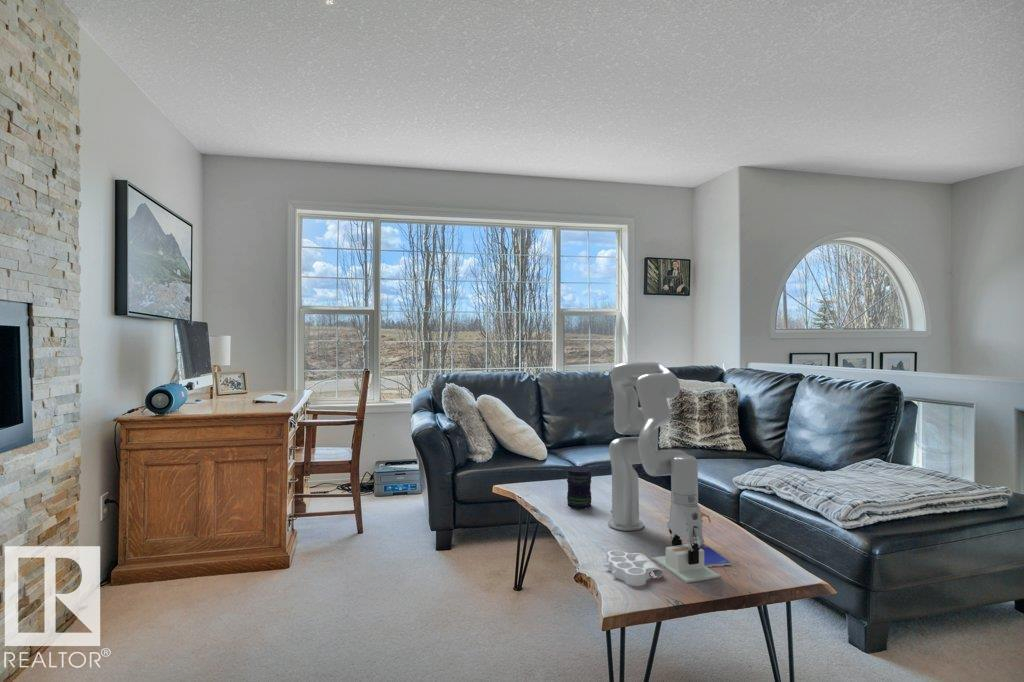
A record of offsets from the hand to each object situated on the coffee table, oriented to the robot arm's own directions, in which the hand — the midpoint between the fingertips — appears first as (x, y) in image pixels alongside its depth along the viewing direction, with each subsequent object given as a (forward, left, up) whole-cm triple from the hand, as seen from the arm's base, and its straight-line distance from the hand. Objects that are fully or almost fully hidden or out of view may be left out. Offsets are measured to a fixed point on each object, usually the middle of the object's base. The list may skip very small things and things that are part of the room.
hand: (684, 558), depth 159 cm
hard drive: (-4, +11, -4) cm, 12 cm away
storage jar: (-65, -4, -3) cm, 66 cm away
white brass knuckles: (-3, -16, -4) cm, 17 cm away
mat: (0, 0, -3) cm, 3 cm away
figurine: (-14, +15, -3) cm, 21 cm away
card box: (0, 0, -2) cm, 2 cm away
